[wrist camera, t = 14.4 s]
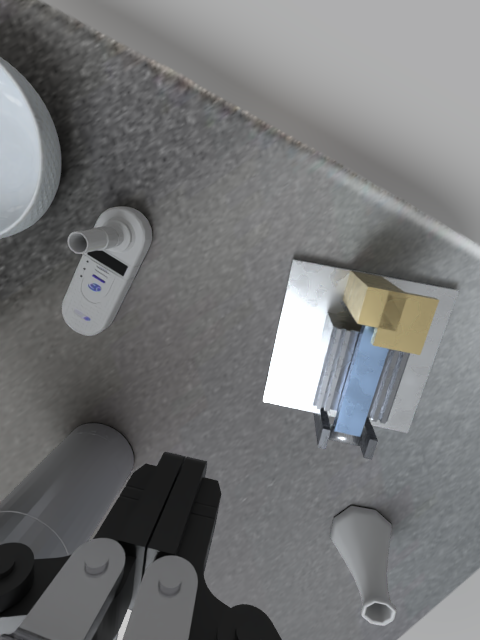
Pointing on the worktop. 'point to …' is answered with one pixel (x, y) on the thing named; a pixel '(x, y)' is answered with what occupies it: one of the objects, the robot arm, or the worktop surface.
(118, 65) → the worktop surface
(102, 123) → the worktop surface
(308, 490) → the worktop surface
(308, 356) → the clip base
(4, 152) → the cereal bowl
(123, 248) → the electronic device
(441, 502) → the worktop surface
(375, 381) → the blue bar
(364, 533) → the flask
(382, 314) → the block
